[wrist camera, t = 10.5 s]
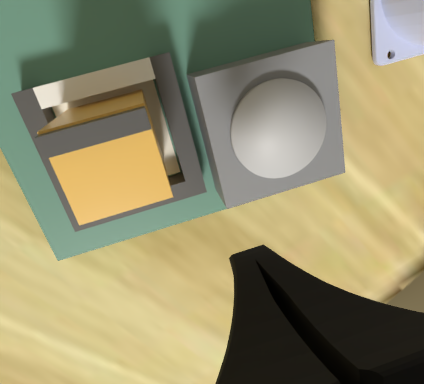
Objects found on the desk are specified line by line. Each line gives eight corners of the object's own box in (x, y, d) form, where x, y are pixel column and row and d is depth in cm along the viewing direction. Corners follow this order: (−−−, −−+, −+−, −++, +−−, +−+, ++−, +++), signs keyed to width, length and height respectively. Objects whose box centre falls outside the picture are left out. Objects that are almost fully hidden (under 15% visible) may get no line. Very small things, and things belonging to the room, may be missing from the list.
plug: (142, 89, 18) (143, 104, 12) (163, 158, 20) (174, 202, 14) (67, 109, 18) (32, 135, 12) (95, 178, 20) (76, 232, 14)
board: (288, -119, 17) (334, -172, 13) (321, 172, 24) (359, 196, 20) (-83, -37, 16) (-160, -69, 12) (61, 252, 22) (44, 296, 18)
